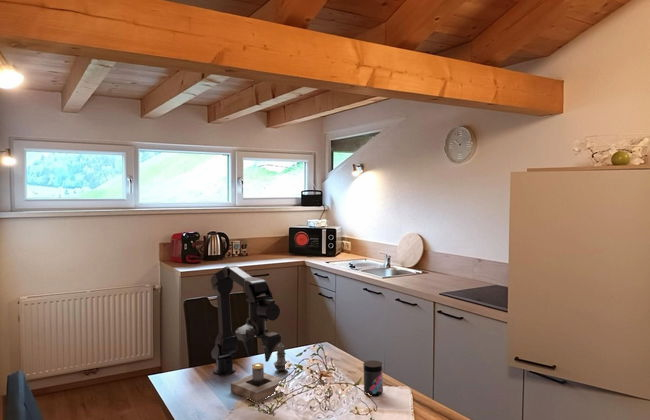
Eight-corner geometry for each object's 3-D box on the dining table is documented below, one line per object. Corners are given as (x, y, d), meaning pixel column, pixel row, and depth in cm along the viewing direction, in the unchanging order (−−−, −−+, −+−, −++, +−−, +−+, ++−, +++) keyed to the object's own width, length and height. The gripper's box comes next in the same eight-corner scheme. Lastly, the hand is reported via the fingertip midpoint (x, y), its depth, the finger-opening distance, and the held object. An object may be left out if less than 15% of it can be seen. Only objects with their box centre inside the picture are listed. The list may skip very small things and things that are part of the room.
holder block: (230, 392, 170) (230, 382, 170) (260, 380, 181) (260, 371, 181) (257, 403, 161) (256, 392, 161) (286, 389, 172) (286, 380, 172)
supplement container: (365, 397, 164) (364, 367, 164) (362, 389, 171) (361, 360, 171) (384, 396, 165) (384, 366, 164) (380, 388, 171) (380, 360, 171)
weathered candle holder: (286, 375, 186) (285, 344, 186) (272, 374, 187) (271, 344, 187) (290, 369, 192) (289, 340, 191) (276, 369, 193) (275, 339, 192)
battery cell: (250, 390, 171) (249, 365, 171) (259, 386, 174) (258, 362, 174) (258, 393, 168) (257, 367, 168) (266, 389, 171) (265, 364, 171)
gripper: (222, 316, 170) (223, 359, 171) (257, 324, 158) (258, 371, 158) (246, 310, 179) (247, 351, 179) (281, 317, 166) (282, 361, 167)
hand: (258, 358), depth 171 cm, fingers open, 9 cm apart
